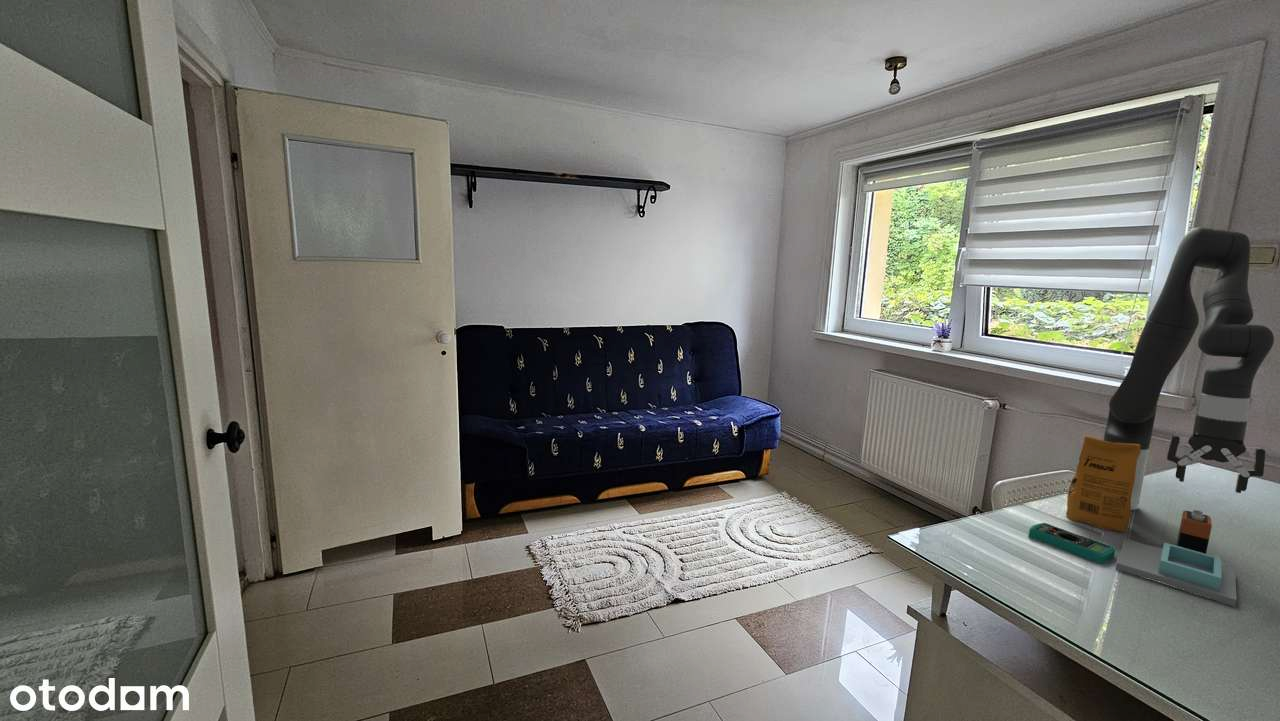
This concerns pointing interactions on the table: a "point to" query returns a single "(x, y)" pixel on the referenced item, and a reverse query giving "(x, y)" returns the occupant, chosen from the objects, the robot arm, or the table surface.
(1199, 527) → the battery
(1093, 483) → the coffee package
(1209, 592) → the plate
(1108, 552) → the digital multimeter
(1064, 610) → the table surface
